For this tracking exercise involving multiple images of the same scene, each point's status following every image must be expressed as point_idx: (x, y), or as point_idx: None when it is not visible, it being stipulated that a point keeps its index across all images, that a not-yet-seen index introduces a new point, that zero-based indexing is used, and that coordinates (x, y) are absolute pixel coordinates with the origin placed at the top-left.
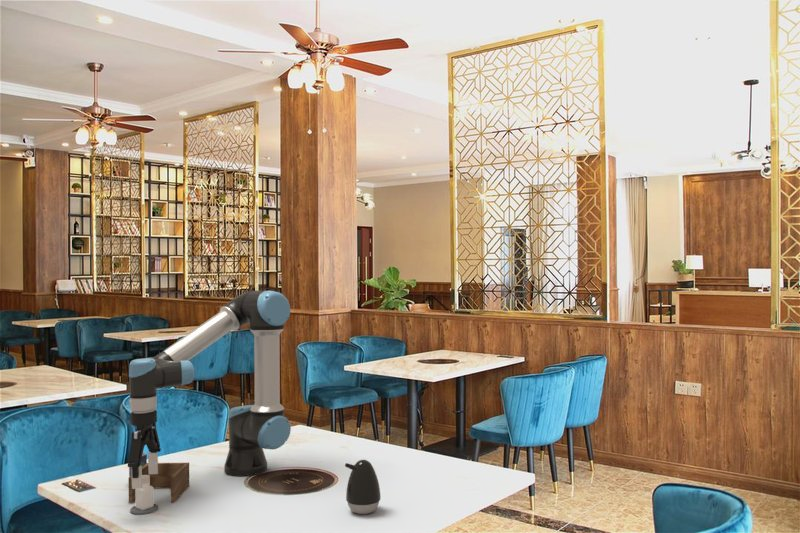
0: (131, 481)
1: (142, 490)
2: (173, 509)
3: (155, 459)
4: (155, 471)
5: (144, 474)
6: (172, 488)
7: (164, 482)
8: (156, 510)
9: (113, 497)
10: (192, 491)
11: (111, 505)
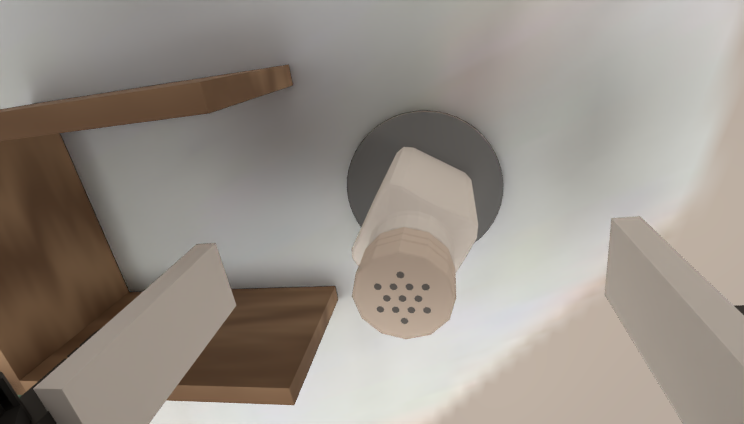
0: (299, 369)
1: (474, 234)
2: (400, 7)
3: (132, 341)
4: (208, 267)
5: None
6: (251, 84)
7: (77, 238)
8: (431, 111)
9: None
10: (86, 44)
11: (370, 358)
